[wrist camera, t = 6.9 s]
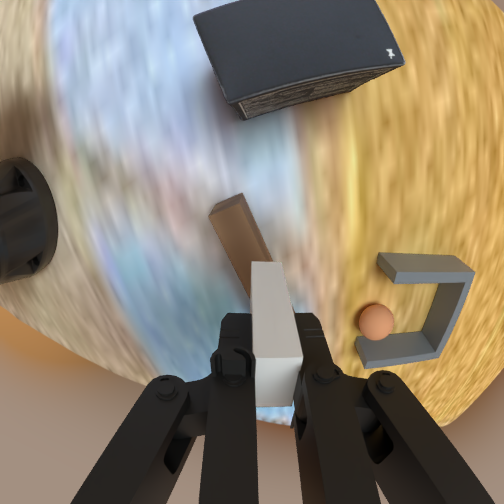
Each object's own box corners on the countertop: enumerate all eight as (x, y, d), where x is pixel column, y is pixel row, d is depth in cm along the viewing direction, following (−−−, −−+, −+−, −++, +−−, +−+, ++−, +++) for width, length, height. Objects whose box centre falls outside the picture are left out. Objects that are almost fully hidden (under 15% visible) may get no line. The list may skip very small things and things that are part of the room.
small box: (327, 30, 18) (366, -22, 8) (353, 91, 20) (412, 68, 10) (215, 59, 19) (187, 11, 10) (240, 123, 22) (228, 109, 12)
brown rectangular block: (287, 349, 30) (290, 374, 26) (216, 204, 24) (208, 216, 20) (307, 342, 30) (313, 367, 26) (242, 192, 23) (239, 203, 20)
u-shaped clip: (354, 343, 31) (364, 368, 27) (378, 252, 26) (397, 271, 22) (424, 337, 31) (438, 357, 27) (454, 255, 26) (475, 272, 22)
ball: (382, 320, 30) (352, 325, 30) (389, 294, 28) (357, 299, 28) (394, 344, 26) (361, 350, 26) (403, 318, 24) (368, 325, 24)
